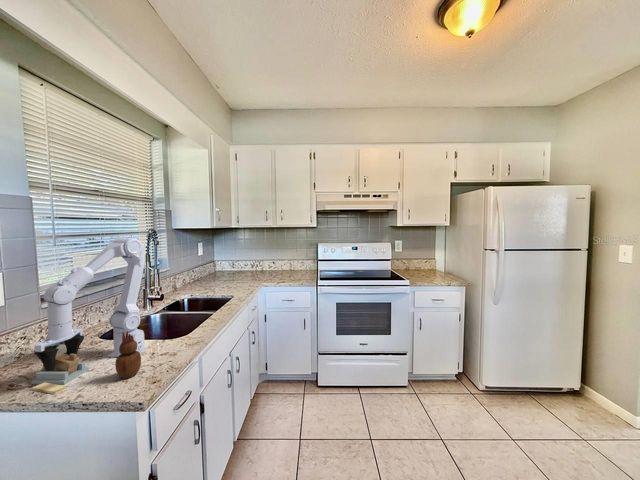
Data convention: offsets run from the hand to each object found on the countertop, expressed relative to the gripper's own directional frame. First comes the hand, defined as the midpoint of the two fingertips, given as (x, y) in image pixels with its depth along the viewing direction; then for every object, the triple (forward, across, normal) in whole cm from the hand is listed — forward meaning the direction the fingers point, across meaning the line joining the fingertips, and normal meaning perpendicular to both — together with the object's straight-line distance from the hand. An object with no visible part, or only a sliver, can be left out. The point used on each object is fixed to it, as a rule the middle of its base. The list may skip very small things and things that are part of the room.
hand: (61, 364), depth 90 cm
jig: (+4, 0, 0) cm, 4 cm away
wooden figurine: (+4, -1, +21) cm, 21 cm away
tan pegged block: (+2, 0, -1) cm, 2 cm away
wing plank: (+4, +7, +3) cm, 9 cm away
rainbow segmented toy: (+4, -18, -17) cm, 25 cm away
